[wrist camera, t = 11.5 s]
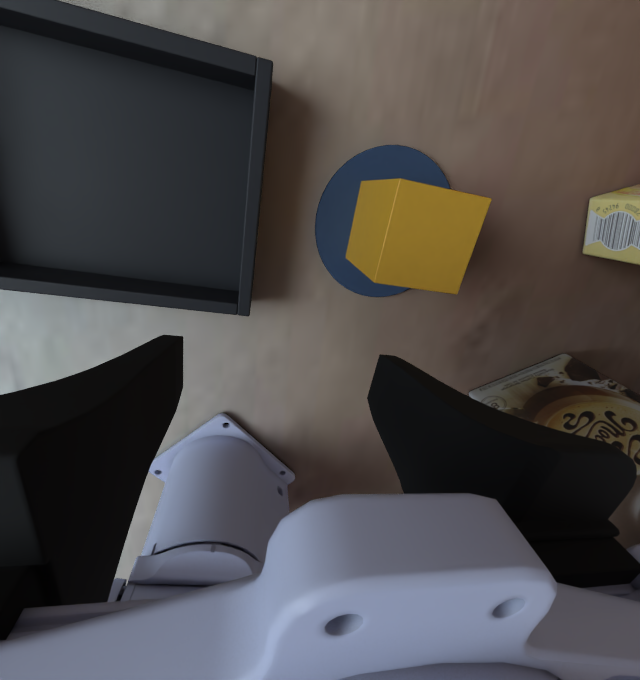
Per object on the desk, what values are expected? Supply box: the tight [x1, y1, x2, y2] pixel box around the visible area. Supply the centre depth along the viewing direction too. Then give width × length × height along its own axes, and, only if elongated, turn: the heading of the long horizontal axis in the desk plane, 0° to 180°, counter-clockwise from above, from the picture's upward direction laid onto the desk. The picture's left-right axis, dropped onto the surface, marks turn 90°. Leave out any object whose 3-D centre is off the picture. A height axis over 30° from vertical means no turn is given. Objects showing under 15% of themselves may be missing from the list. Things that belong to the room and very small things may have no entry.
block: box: [346, 178, 492, 294], centre depth 17 cm, size 4×4×6 cm
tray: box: [0, 0, 273, 316], centre depth 16 cm, size 15×12×3 cm
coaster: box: [315, 145, 450, 297], centre depth 20 cm, size 9×9×1 cm
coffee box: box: [469, 354, 640, 549], centre depth 21 cm, size 9×6×16 cm
